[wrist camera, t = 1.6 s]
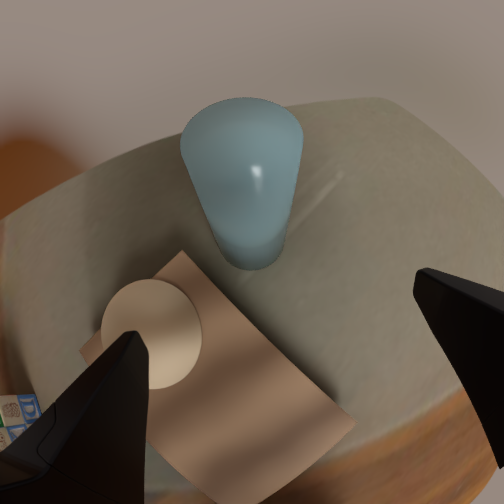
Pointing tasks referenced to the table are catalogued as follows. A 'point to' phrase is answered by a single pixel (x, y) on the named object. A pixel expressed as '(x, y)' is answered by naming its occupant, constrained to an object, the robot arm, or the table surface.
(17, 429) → the stack of blocks
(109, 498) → the robot arm
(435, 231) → the table surface
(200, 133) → the light blue rounded piece
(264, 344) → the plate
